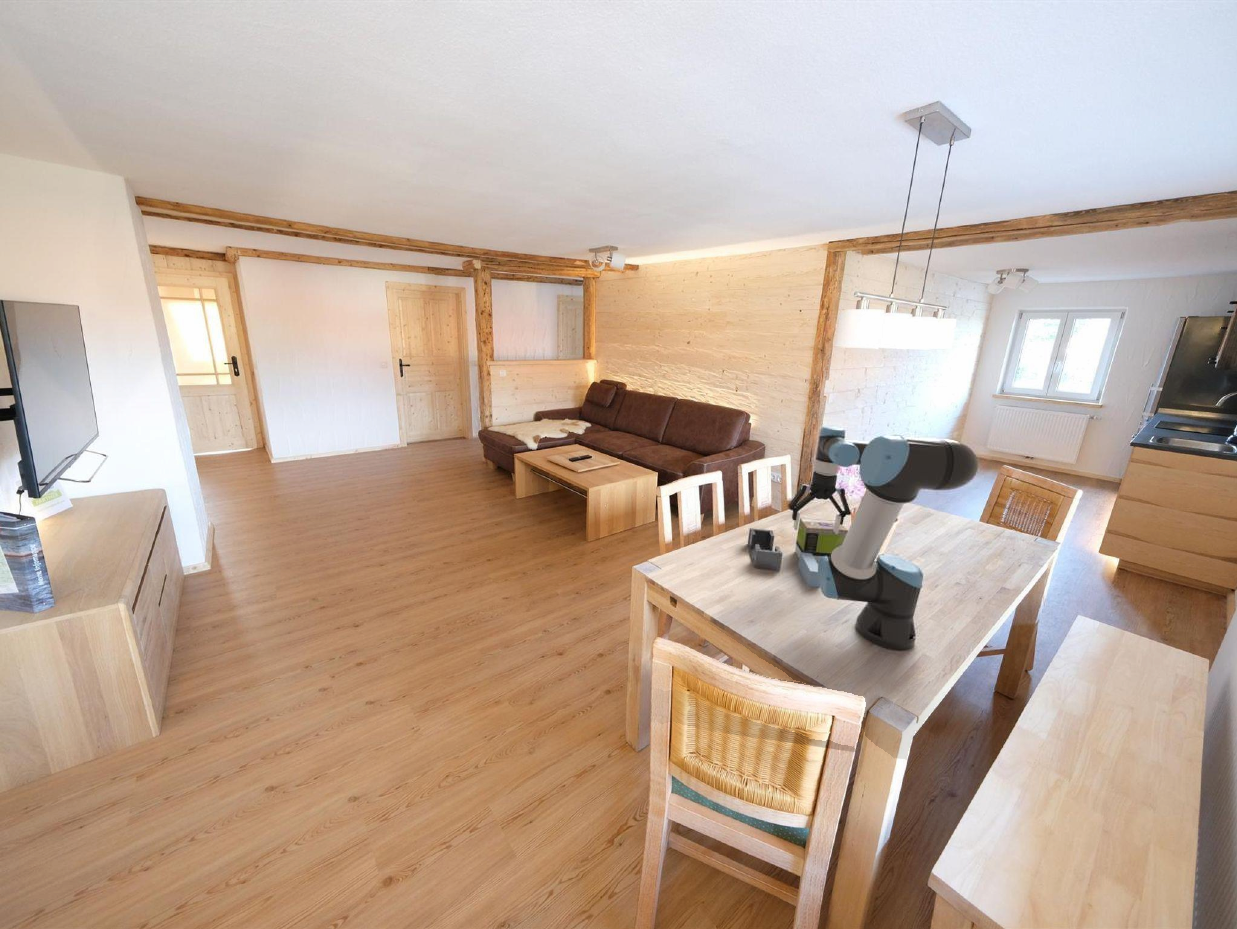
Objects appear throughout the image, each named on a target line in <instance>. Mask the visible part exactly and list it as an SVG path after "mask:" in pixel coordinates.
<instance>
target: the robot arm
mask: <svg viewBox="0 0 1237 929" xmlns="http://www.w3.org/2000/svg"><path fill="white" fill-rule="evenodd" d="M845 438H846V430H845V428H842V427H839V426H829V425H827V426H826V425H825V426H823V427H821V429H820V432H819V435H818V441H817V442H818V444H817V447H816V454H815V459H814V467H813V473H812V478H811V484H810V485H808V484H805V483H804V482H803V483H801V484H800V488H799V490H798V491H797V493H796V494H795V495H794V496H793V497H792V499H791V501H790V502H789V503H788V505H787V507H788V509H789V511H792V515H791V519H792V521H793V529H794V531H798V528H799V521H800V518H801V517H800V515H801V512H800V510H802V509H803V508H804V507H805V506H806V505H808V503H810V502H811V501H813V500H815V499H816V500H826V501H827V500H828V499H829V501H830V502H831V503H832V504H833V506H834V508H835V509H836V510H837V512H838V513H836V515H835V525H834V530H833V531H834V532H835V534H838V532H839V527H840V525H843V524H844V520H845V517H847V516H850V515H852V513H851V509H850V507H849V503H848V501H847V498H846V495H845V494H846V490H845V488H844V487H843V486H839V487H836V484H837V480H838V475H837V474H838V473H839V469H840V467H843V468H849V467H853V466H854V465H855V466H859V476H860V479H861V480H862V483H863V486H864V488H865V489H866V490H865V492H864V494H863V496H862V498H861V501H860V503H859V504H858V508H857V510H856V512H855V514H854V517H853V518H852V521H851V523H850V525H849V528H848V529H847V530H848V532H847V534H846V537H845V539H844V541H843V544H842V546H839V547H837V548H835V549H834V550H833V551H832V554H831V556H830V557H827V556H822V557H820V559H819V562H818V579H819V585H820V587H819V588H820V590H821V593H822V595H824V597H826V598H829V599H834V600H838V601H839V600H840V601H853V602H860V603H861V602H863V603H866V605H864V607H863V608H862V609H861V611H860V613H859V614H858V615H857V617H856V621H855V629H856V631H857V632H858V633H859V634H860V636H862V637H863V638H864V639H866V640H867V641H869V642H871V643H873V644H874V645H877V646H880V647H882V648H886V649H889V650H892V651H893V650H894V651H906V650H910V649H911V648H913V647H914V645H915V642H916V638H917V635H916V628H915V622H914V621H915V620H914V616H915V612H916V608H917V604H918V601H919V597H920V596H919V595H920V592H921V589H922V588H923V581H924V580H923V579H924V573H923V571H922V570H921V568H920V567H918V565H916V564H915V563H913V562H911V561H910V560H908V559H906V558H903V557H901V556H897V555H894V554H889V553H882V554H879V553H880V551H881V549H882V547H883V545H884V543H885V541H886V540H887V537H888V536H889V533H890V532H891V530H892V528H893V526H894V524H895V522H896V520H897V518H898V517H899V514H900V512H901V510H902V509H903V507H904V505H905V504H910V503H912V502H914V501H915V499H916V498H917V496H918V494H919V493H920V491H921V490H929V491H931V490H932V491H950V490H952V491H953V490H956V489H959V488H962V487H964V486H965V485H968V484H969V483H970V482H971V481H972V480H973V479H974V478H975V476H976V475H977V473H978V469H979V460H978V457H977V455H976V453H975V451H973V449H972V448H970V447H969V446H968V445H966V444H964V443H963V442H960V441H956V440H952V439H947V438H945V439H944V438H931V437H928V438H927V437H913V436H903V435H898V434H895V435H894V434H893V435H880V436H877V437H874V438H873V439H871V441H867V440H866V441H865V440H851V439H845ZM809 490H810V492H808V491H809ZM806 492H808V494H807V495H805V494H806ZM835 493H837V494H838V495H839V498H840V501H841V504H842V507H843V509H842V507H841V506H840V505H839V503H838V502H837V500H836V499H835V497H834V494H835ZM804 495H805V497H803V496H804ZM801 498H803V499H801Z"/></svg>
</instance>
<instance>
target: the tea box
mask: <svg viewBox="0 0 1237 929" xmlns="http://www.w3.org/2000/svg"><path fill="white" fill-rule="evenodd" d="M835 520H836V519H835ZM835 520H834V519H833V520H832V519H819V518H802V517H799V523H798V529H797V536H796V542H795V551H794V552H795V554H796V555H797V557H798V558H799V557H800V552H803V553H812V555H813V557H814V558H815V560H816V562H817V563H818V562H819V559H820V557H822V556H827V557H830V556H831V554H832V551H833V550H834V549H835V548H837V547H839V546H842V544H843V541H844V539H845V537H846V534H847V532H848V530H849V529H847V528H846V527H845V526H844V525H843V524H842V525H840V527H839V532H838V534H835V532H834V531H833V530H834V525H835Z"/></svg>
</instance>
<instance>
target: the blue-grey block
mask: <svg viewBox="0 0 1237 929" xmlns="http://www.w3.org/2000/svg"><path fill="white" fill-rule="evenodd" d="M797 567H798V569H799V571H800V574H801V575H802V578H803V580H804V582H805V584H806V585H807V587H809V588H810V587H812V588H820V585H819V579H818V563H817V562H816V560H815V558H814V557H813V555H812V553H803V552H800V557H798V564H797Z"/></svg>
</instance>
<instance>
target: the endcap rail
mask: <svg viewBox="0 0 1237 929" xmlns="http://www.w3.org/2000/svg"><path fill="white" fill-rule="evenodd" d="M748 531H749V532H748V538H747V547H748V550H749V553H750V556H751V561H752V565H753V568H754V569H759V570H770V571H778V572H780V571H781V566H782V559H783V551H781V548H780V546H779V545H778V546H777V545H775V547H774V548H773V546H774V540H775V534H774V530H773V529H772V530H771V529H770V530H769V529H761V528H760V529H759V528H751V527H750V528H749V530H748Z"/></svg>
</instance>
